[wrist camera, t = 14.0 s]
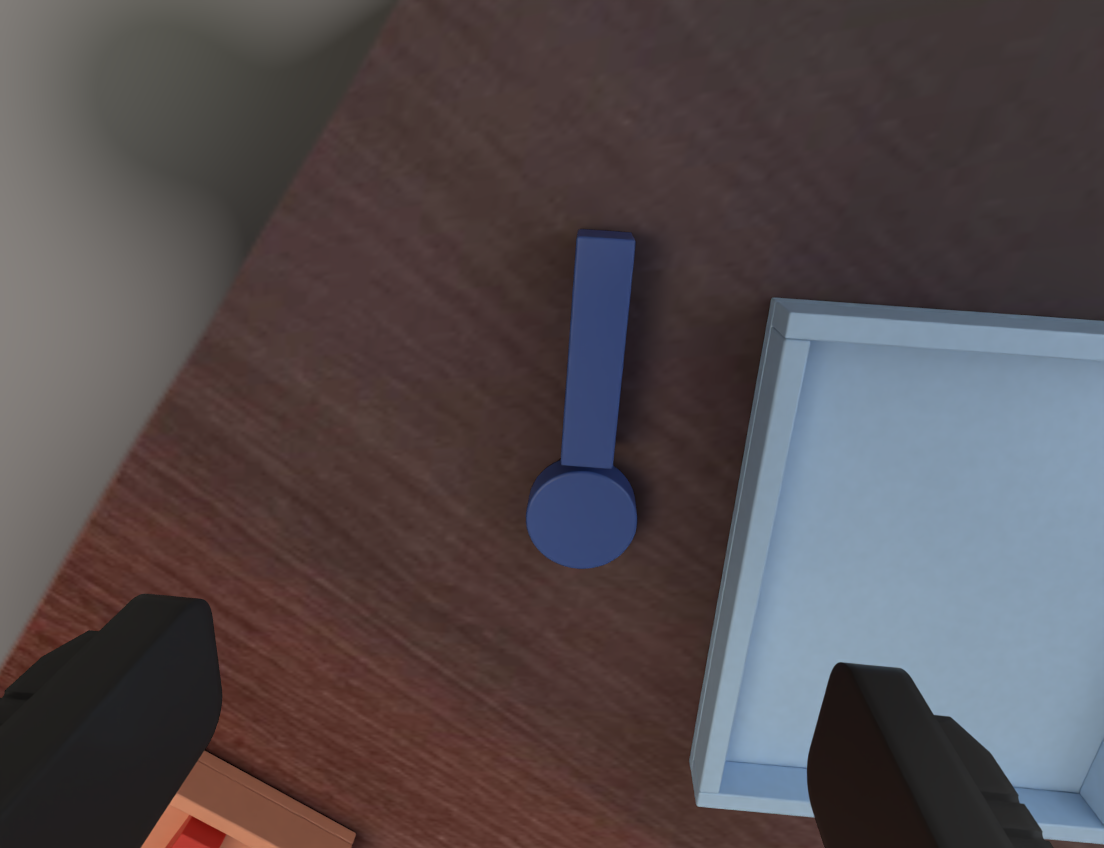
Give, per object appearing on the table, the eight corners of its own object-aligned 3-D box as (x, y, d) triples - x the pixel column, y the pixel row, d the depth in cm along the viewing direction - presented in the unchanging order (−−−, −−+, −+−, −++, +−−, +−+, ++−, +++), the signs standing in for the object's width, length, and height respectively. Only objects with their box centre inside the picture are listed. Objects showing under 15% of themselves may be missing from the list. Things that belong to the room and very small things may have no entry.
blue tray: (770, 297, 19) (789, 312, 18) (1297, 334, 19) (1373, 353, 17) (688, 760, 26) (696, 807, 24) (1081, 796, 25) (1120, 846, 24)
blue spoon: (543, 226, 19) (539, 233, 17) (666, 234, 19) (674, 242, 17) (526, 545, 23) (521, 576, 21) (629, 553, 23) (632, 585, 21)
